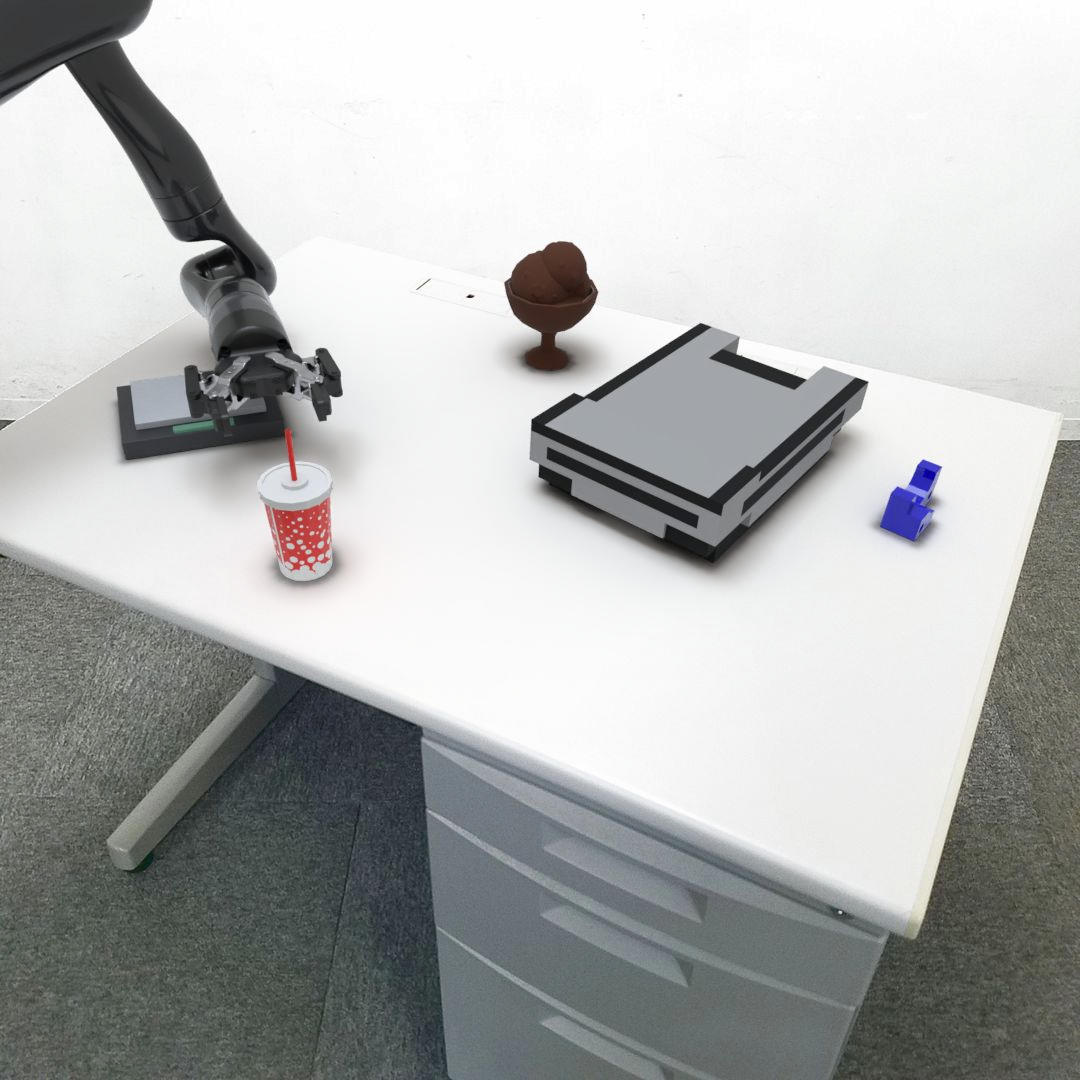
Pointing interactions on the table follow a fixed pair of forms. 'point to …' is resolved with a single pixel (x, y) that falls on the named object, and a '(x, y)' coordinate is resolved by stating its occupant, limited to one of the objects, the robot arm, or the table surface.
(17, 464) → the table surface
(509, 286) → the ice cream bowl
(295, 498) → the beverage cup
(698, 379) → the game console
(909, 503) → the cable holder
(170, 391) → the scale
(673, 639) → the table surface
